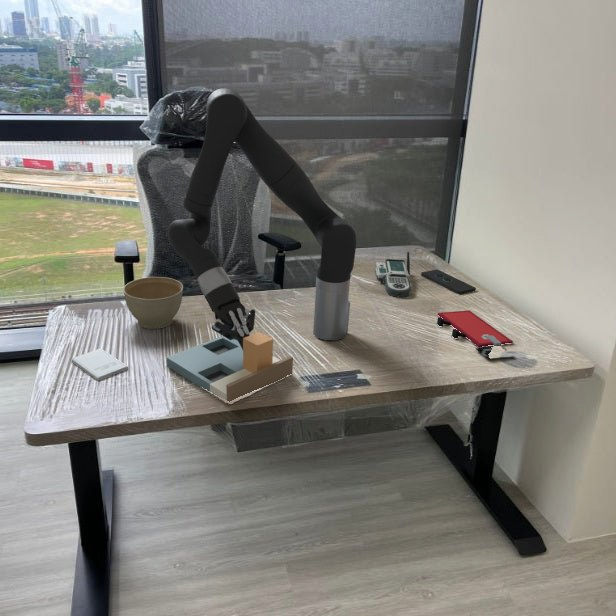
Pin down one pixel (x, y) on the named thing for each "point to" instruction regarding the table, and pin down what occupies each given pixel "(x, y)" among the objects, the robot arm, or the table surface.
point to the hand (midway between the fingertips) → (250, 350)
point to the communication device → (395, 276)
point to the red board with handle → (473, 330)
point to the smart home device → (448, 282)
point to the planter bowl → (153, 300)
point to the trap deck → (225, 368)
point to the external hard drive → (99, 364)
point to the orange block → (257, 352)
